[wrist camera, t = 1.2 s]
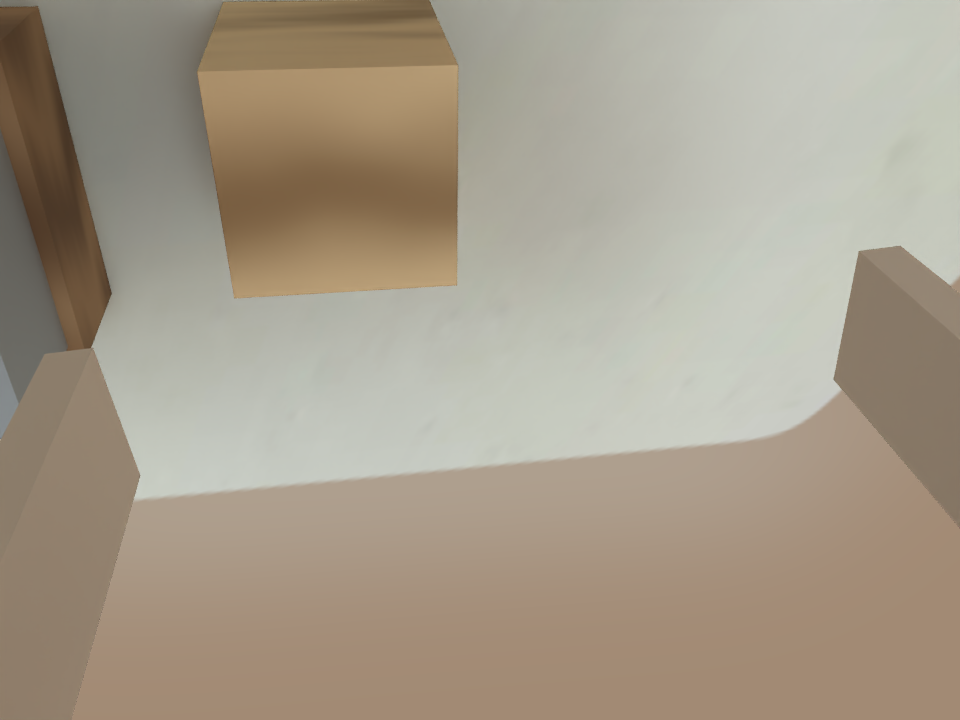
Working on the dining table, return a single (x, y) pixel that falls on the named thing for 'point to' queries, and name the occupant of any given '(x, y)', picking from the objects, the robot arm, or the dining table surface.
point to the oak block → (333, 145)
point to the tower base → (50, 176)
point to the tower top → (21, 298)
